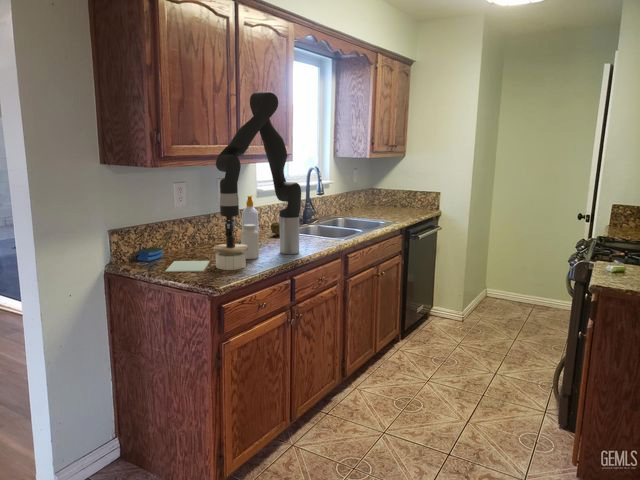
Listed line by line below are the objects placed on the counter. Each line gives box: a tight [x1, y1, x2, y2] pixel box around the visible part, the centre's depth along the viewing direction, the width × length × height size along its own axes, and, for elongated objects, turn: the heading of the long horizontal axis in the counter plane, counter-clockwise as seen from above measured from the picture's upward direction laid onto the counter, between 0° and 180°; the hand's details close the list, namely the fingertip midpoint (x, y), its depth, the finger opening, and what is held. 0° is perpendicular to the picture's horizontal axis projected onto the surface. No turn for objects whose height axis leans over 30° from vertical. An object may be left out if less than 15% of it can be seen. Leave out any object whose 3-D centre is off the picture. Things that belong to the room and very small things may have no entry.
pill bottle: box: [240, 224, 260, 260], centre depth 218 cm, size 8×8×15 cm
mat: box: [164, 260, 210, 273], centre depth 202 cm, size 17×15×1 cm
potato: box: [270, 222, 280, 237], centre depth 274 cm, size 8×13×8 cm, turn 147°
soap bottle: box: [241, 194, 259, 233], centre depth 257 cm, size 9×9×24 cm
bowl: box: [215, 252, 247, 271], centre depth 203 cm, size 12×12×6 cm
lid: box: [213, 233, 248, 253], centre depth 201 cm, size 14×14×6 cm
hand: (230, 245), depth 202 cm, fingers closed on lid, 3 cm apart
